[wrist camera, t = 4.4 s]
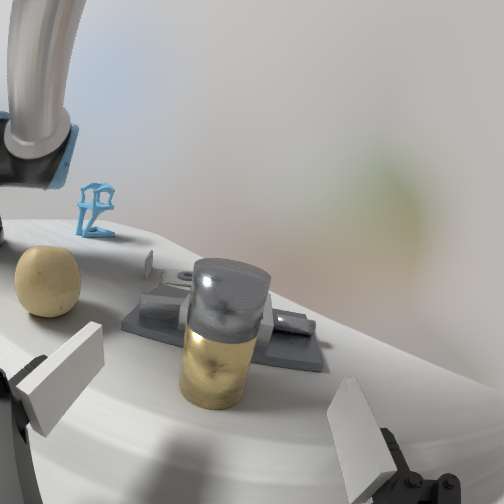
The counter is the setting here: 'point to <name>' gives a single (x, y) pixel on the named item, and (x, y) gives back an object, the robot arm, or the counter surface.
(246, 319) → the gold and grey cylinder
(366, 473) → the robot arm
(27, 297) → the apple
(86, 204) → the chair
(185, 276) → the bracket
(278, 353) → the coupling board
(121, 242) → the counter surface
